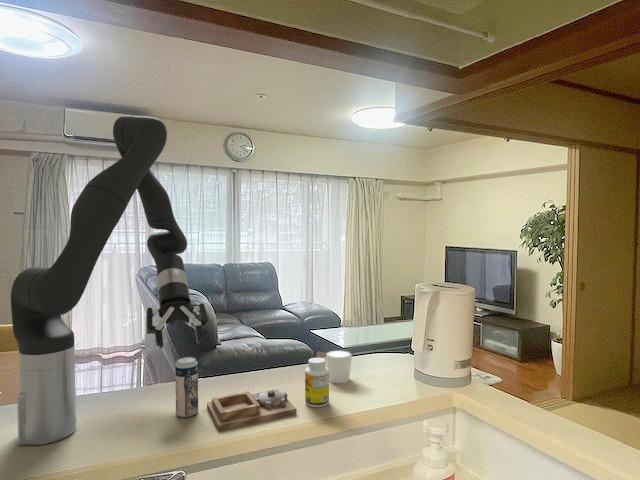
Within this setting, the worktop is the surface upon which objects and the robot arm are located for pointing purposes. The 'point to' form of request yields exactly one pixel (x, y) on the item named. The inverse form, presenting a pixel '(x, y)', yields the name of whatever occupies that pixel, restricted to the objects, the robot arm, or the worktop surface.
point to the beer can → (186, 386)
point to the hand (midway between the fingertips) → (180, 344)
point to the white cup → (339, 366)
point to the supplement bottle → (316, 383)
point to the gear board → (249, 408)
